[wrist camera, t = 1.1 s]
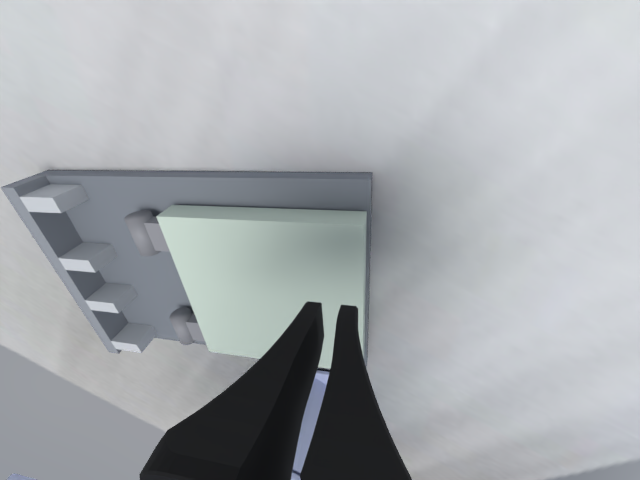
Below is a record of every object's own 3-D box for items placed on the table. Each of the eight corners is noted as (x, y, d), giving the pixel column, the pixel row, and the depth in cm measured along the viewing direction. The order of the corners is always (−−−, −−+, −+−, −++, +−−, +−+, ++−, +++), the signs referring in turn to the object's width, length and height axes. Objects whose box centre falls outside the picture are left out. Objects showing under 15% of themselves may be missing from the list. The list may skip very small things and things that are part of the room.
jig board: (367, 355, 29) (364, 391, 26) (133, 325, 34) (108, 352, 31) (372, 172, 19) (368, 195, 16) (47, 170, 25) (0, 187, 22)
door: (364, 354, 27) (362, 373, 25) (188, 332, 30) (177, 347, 29) (366, 211, 19) (364, 225, 18) (133, 203, 23) (115, 214, 21)
